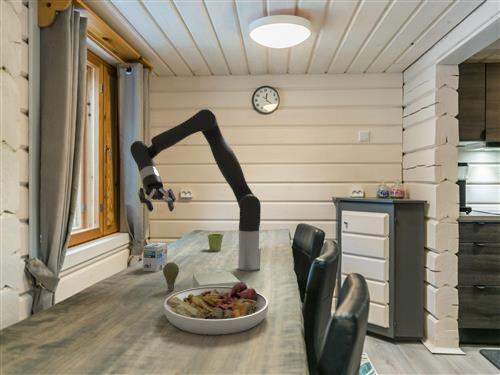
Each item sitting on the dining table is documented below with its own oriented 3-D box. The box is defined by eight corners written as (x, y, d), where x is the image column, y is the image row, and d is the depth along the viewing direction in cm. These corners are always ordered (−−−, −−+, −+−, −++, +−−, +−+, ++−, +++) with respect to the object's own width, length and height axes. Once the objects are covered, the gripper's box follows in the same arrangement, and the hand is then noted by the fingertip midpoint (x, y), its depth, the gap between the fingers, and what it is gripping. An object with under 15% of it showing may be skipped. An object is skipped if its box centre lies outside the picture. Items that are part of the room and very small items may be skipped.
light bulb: (163, 288, 135) (164, 260, 134) (179, 288, 135) (179, 260, 135) (161, 292, 129) (161, 264, 129) (177, 292, 130) (178, 264, 129)
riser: (229, 285, 140) (229, 271, 140) (240, 296, 127) (240, 281, 127) (192, 287, 136) (192, 274, 135) (199, 299, 122) (199, 284, 122)
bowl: (228, 350, 87) (229, 317, 87) (140, 323, 103) (140, 294, 103) (285, 312, 112) (286, 287, 112) (208, 295, 128) (208, 272, 128)
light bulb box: (157, 272, 158) (157, 247, 157) (142, 271, 159) (142, 246, 159) (167, 266, 168) (167, 242, 168) (153, 265, 169) (154, 242, 169)
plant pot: (226, 250, 209) (227, 234, 209) (216, 252, 201) (216, 236, 201) (213, 248, 214) (214, 233, 214) (203, 250, 206) (203, 235, 206)
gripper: (137, 172, 147) (148, 204, 138) (170, 174, 156) (182, 204, 147) (131, 185, 151) (141, 216, 142) (163, 186, 160) (174, 215, 151)
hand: (162, 210), depth 145 cm, fingers open, 8 cm apart
